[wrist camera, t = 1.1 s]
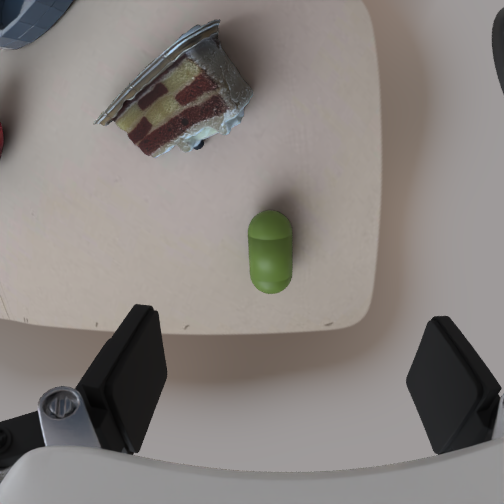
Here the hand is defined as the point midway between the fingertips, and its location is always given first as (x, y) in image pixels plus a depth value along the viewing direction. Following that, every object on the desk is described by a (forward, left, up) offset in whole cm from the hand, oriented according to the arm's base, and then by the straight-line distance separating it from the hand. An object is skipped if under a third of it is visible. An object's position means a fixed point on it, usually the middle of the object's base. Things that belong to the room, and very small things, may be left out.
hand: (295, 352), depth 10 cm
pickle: (+2, 0, -15) cm, 15 cm away
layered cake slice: (-6, -10, -15) cm, 19 cm away
